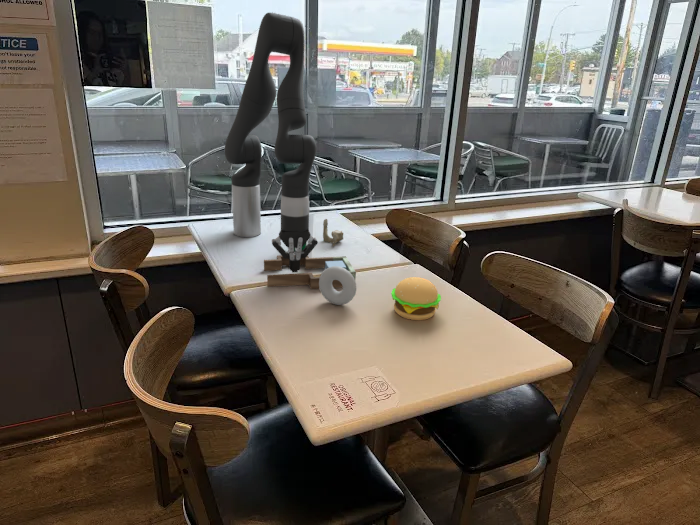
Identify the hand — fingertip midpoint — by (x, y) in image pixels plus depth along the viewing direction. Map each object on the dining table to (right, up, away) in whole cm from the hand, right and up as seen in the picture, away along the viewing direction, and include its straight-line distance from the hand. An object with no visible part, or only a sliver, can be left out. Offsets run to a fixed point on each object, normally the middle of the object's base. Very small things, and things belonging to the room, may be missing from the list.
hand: (294, 271), depth 138 cm
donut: (+12, -8, -14) cm, 20 cm away
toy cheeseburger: (+31, -10, -16) cm, 37 cm away
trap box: (+4, -1, +1) cm, 4 cm away
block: (+11, -1, +3) cm, 12 cm away
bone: (+10, +9, +28) cm, 31 cm away
